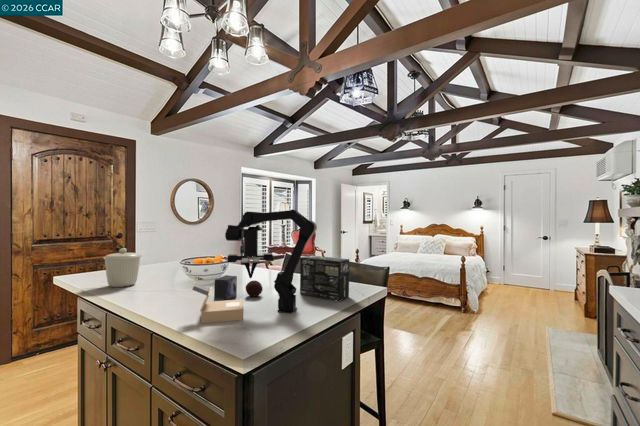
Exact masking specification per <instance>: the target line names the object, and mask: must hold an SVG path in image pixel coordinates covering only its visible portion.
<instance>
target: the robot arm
mask: <svg viewBox="0 0 640 426" xmlns="http://www.w3.org/2000/svg"><path fill="white" fill-rule="evenodd" d="M283 220H284V221H285V220H292V221H293V222H294V224H295V225H297V226H298V227H299V231H298V238H297V241H296V244H295V245H294V248H293V250H292V252H291V255H290V256H289V259H288V261H287V263H286V265H285V268H284V270H280V272H278V273H277V275H276V278H275V280H274V281H273V283H274V284H273V285H274V286H273V287H274V290H275V292H277V295H278V300H277V312H278V313H287V314H293V313H294V312H296V310H297V309H298V307H297V306H296V305H297V300H296V299H297V295H296V293H297V287H296V286H294V284H293V279H294V274H295V271H296V269H297V266H298V264H299V263H300V261H301V257H302V255H303V254H304V250H305V248H306V246H307V245H308V242H309V241H310V240H311V238H312V237H313V236H314V235H315V233H316V232H317V228H318V226H317V223H316V222H315V221H313V220H309V219H308V218H307V217H305V216H304V215H302V214H301V213H300V212H299V211H298V210H296V209H289V210H281V211H270V212H268V211H267V212H260V211H259V212H258V211H246V212H244V214H243V215H242V219H241V220H240V221H239V222H238V224H237V225H236V224H235V225H234V224H228V225H227V228H226V231H225V235H224V237H225V239H226V241H227V242H230V241H231V242H233V241H234V242H241V241H242V240H243V245H240V246H239V247H240V248H239V253H240V254H241V255H238V253H230V254H229V253H228V255H227V263H236V262H237V261H241V265H244V266H245V268H246V271H247V273H248V277H249V279H252V277H253V275H254V273H255V269H256V267H257V265H258V264H260V262H261V261H260V260H264V261H265V262H274V254H273V253H271V252H267V253H266V252H263V253H262V254H258V253H259V252H258V251H259V248H258V247H259V246H258V245H259V244H258V242H259V241H258V238H259V237H258V236H259V233H258V232H259V231H260V232H261V231H263V228H262V227H261V225H260V224H263V223H266V222H272V221H273V222H274V221H283ZM250 261H251V268H250Z"/></svg>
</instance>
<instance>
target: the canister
mask: <svg viewBox="0 0 640 426" xmlns="http://www.w3.org/2000/svg"><path fill="white" fill-rule="evenodd" d="M127 249H128V248H125V247H122V248H120V249H119V250H118V252H115V253H110V254H106V255H105V256H103V257H102V258H103V259H104V266H105V274H106V275H105V276H106V282H107V284H108V286H109V287H110V286H111V288H125V287H124V286H127V287H131V286H134V285H135V284H136V283H137V281H138V275H139V271H140V262H141V257H142V254H140V253H138V252H127ZM133 284H134V285H133ZM130 285H131V286H130Z"/></svg>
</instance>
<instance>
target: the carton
mask: <svg viewBox="0 0 640 426" xmlns="http://www.w3.org/2000/svg"><path fill="white" fill-rule="evenodd" d="M231 321H233V322H234V321H244V300H243V299H232V300H225V301H214V300H212V301H206V303H205V305H204V307H203V309H202V311H200V323H201V324H206V323H207V324H208V323H220V322H221V323H222V322H231Z"/></svg>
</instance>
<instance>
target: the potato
mask: <svg viewBox="0 0 640 426" xmlns="http://www.w3.org/2000/svg"><path fill="white" fill-rule="evenodd" d="M245 291H246V293H247V295H248V296H250V297H258V296H260V295H261V294H262V292H263V286H262V284H261V282H260V281H258V280H250V281H249V282H247V284H246V285H245Z"/></svg>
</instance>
